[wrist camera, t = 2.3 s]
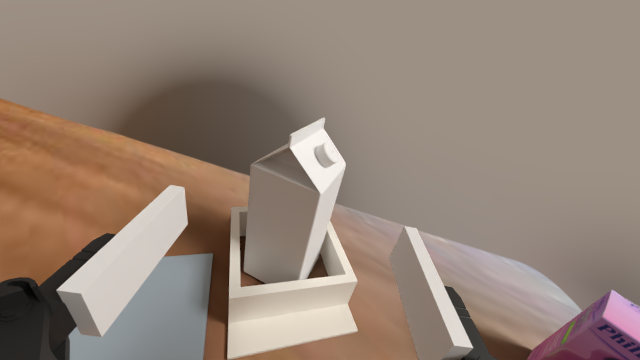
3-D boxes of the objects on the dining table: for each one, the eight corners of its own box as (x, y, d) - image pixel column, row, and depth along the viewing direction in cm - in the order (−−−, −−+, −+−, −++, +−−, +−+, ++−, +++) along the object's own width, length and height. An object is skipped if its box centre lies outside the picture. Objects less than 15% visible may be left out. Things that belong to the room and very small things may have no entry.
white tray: (230, 217, 37) (231, 193, 34) (312, 215, 41) (317, 194, 39) (227, 360, 21) (227, 334, 19) (356, 332, 26) (369, 308, 24)
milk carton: (242, 272, 29) (252, 121, 20) (274, 237, 35) (294, 107, 25) (294, 301, 27) (332, 150, 18) (318, 258, 33) (357, 128, 24)
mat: (80, 265, 26) (79, 263, 26) (212, 255, 30) (212, 253, 30) (-23, 431, 16) (-27, 430, 15) (201, 379, 20) (201, 377, 20)
